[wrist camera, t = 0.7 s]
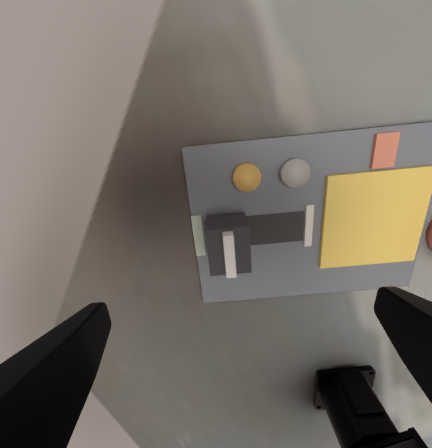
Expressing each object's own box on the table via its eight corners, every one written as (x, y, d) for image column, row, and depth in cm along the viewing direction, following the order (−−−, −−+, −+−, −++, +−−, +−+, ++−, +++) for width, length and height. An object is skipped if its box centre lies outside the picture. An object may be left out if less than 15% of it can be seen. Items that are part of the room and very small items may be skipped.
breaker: (246, 252, 19) (253, 278, 16) (210, 255, 19) (210, 282, 16) (244, 211, 18) (251, 230, 14) (206, 215, 18) (204, 235, 15)
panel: (400, 279, 22) (415, 291, 20) (204, 296, 22) (203, 309, 21) (439, 120, 17) (464, 119, 15) (182, 146, 17) (179, 148, 16)
